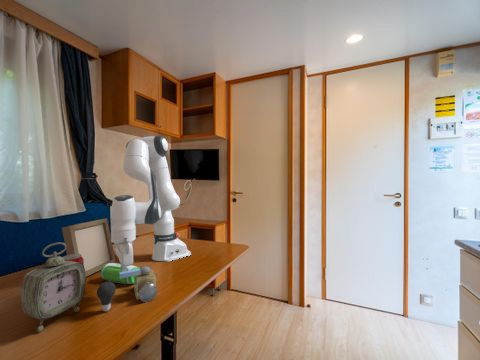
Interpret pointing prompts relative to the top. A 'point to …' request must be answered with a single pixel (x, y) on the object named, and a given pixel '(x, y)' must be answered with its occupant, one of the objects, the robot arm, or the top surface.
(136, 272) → the lever
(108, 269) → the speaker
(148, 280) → the valve
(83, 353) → the top surface
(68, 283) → the tabletop clock
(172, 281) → the top surface
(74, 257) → the soda can
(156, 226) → the robot arm
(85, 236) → the photo frame
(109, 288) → the light bulb
